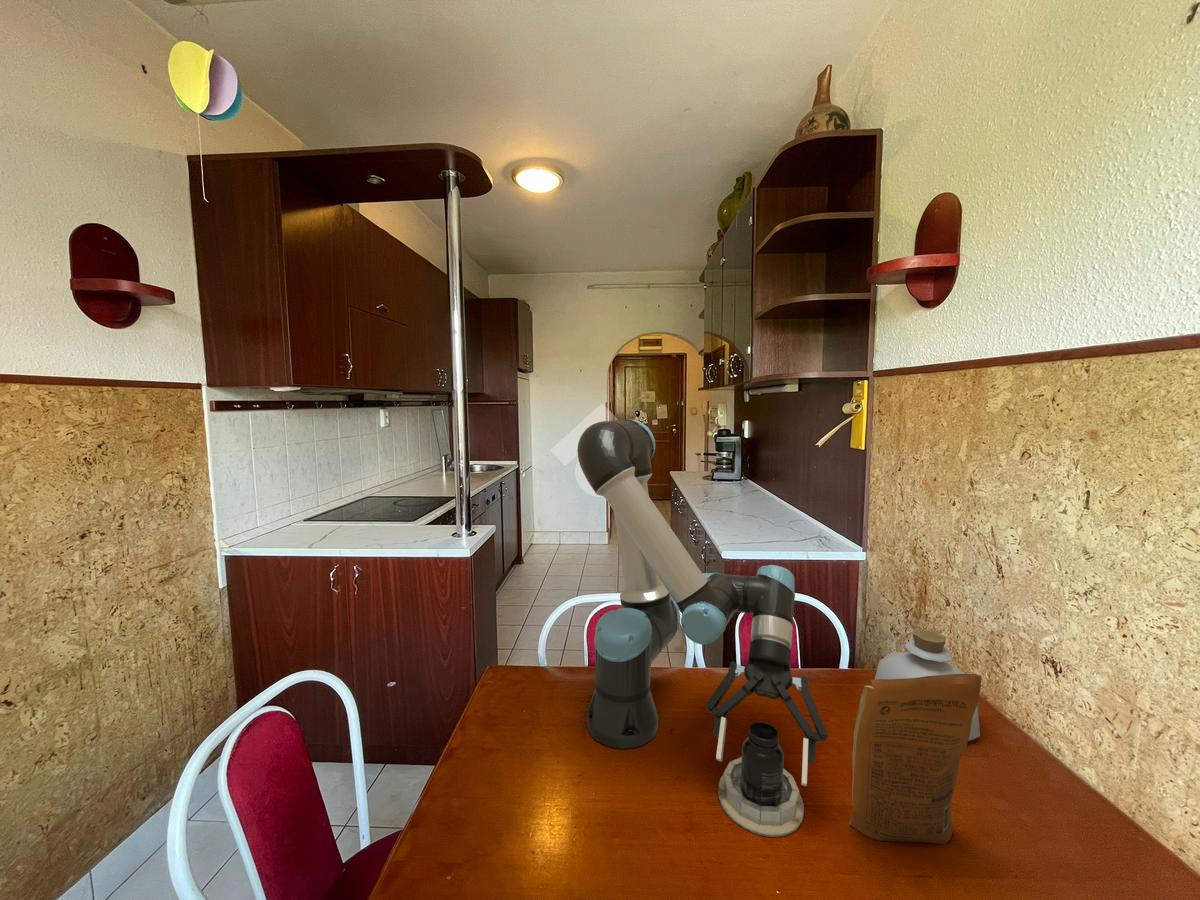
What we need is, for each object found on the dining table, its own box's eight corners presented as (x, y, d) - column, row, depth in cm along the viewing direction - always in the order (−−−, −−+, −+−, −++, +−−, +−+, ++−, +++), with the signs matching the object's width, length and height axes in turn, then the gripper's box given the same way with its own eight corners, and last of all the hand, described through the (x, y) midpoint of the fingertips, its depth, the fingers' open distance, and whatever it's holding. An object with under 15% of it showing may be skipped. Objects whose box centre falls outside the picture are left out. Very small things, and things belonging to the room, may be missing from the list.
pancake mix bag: (981, 856, 75) (999, 684, 71) (853, 849, 76) (864, 679, 72) (952, 818, 81) (967, 659, 78) (835, 812, 82) (844, 655, 79)
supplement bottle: (782, 787, 86) (787, 724, 85) (779, 817, 80) (784, 750, 79) (742, 773, 89) (746, 713, 88) (736, 802, 83) (740, 737, 82)
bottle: (963, 766, 93) (972, 672, 91) (856, 713, 108) (862, 632, 106) (993, 722, 105) (1001, 639, 103) (893, 680, 121) (898, 607, 118)
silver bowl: (706, 810, 83) (707, 791, 82) (732, 759, 94) (733, 742, 94) (793, 852, 75) (794, 832, 75) (810, 791, 87) (811, 773, 86)
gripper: (841, 665, 92) (841, 798, 80) (707, 638, 101) (689, 754, 89) (844, 651, 86) (845, 793, 74) (703, 625, 96) (683, 746, 84)
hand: (760, 772), depth 82 cm, fingers open, 13 cm apart
